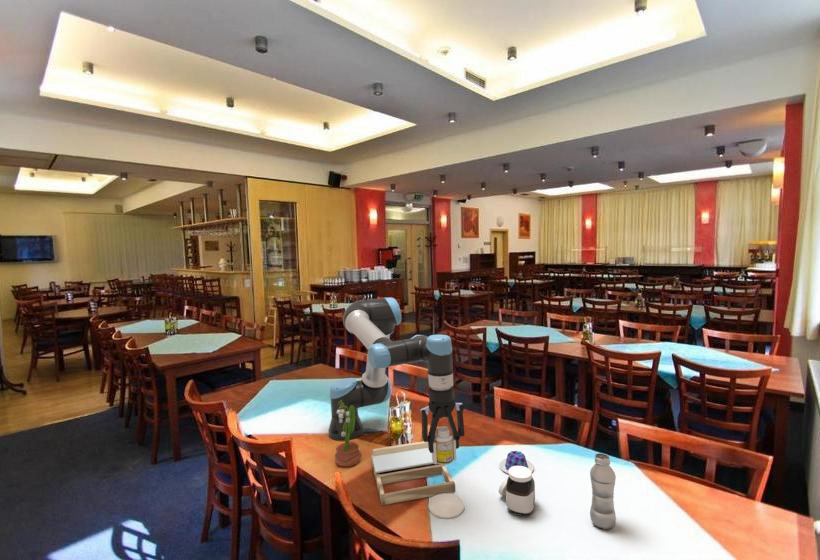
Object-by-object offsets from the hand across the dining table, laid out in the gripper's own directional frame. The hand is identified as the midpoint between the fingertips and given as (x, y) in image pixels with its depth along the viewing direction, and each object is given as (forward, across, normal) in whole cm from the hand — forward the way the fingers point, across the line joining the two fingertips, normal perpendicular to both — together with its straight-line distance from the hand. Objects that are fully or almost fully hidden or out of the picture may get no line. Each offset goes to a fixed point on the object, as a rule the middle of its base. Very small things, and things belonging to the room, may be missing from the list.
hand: (444, 460), depth 123 cm
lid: (+12, -7, +26) cm, 29 cm away
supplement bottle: (+1, 0, 0) cm, 1 cm away
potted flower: (+15, -28, +36) cm, 48 cm away
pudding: (+16, +31, +14) cm, 38 cm away
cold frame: (+15, -7, +19) cm, 26 cm away
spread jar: (+15, +21, -5) cm, 27 cm away
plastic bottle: (+15, +40, -20) cm, 47 cm away
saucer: (+15, 0, 0) cm, 15 cm away
